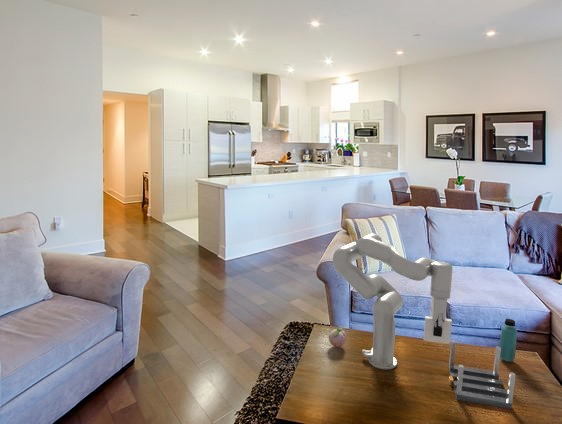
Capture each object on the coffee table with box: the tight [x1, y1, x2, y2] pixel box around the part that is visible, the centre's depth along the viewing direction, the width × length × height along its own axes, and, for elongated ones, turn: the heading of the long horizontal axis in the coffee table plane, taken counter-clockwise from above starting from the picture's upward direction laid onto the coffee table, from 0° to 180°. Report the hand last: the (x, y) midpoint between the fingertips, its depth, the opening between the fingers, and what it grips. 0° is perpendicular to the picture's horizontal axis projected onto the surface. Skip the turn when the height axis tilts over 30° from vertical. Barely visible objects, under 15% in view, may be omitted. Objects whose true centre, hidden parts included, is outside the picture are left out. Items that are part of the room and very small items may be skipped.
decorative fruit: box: [328, 327, 347, 348], centre depth 182 cm, size 9×8×10 cm
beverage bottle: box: [498, 318, 518, 362], centre depth 170 cm, size 6×7×20 cm
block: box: [423, 315, 453, 345], centre depth 153 cm, size 10×2×10 cm, turn 73°
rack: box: [448, 339, 516, 410], centre depth 151 cm, size 21×21×14 cm
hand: (437, 334), depth 153 cm, fingers closed on block, 2 cm apart
